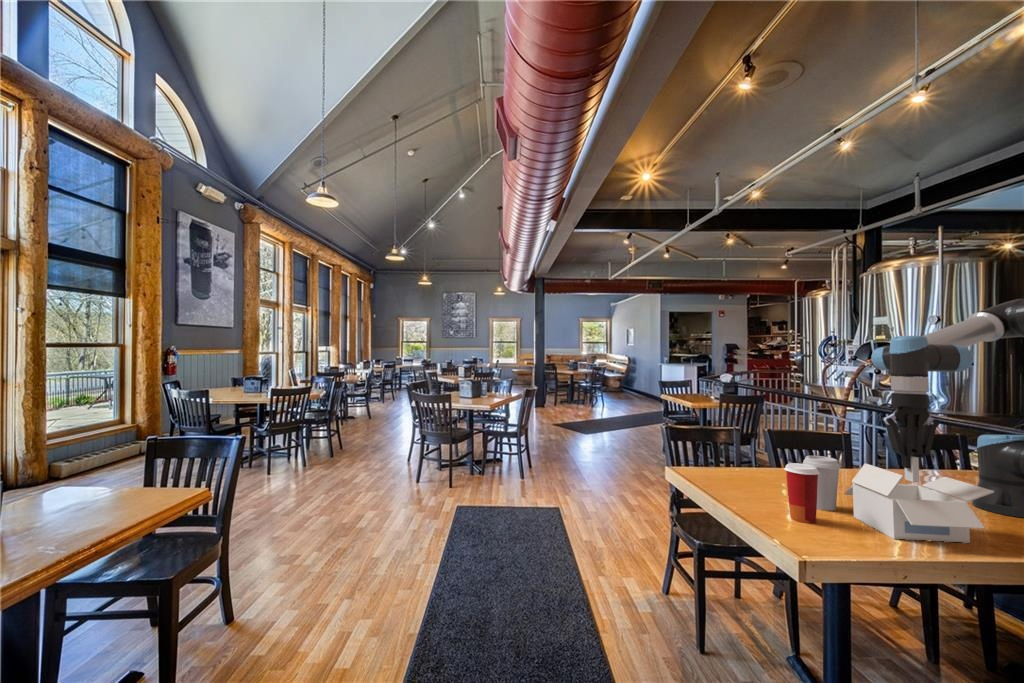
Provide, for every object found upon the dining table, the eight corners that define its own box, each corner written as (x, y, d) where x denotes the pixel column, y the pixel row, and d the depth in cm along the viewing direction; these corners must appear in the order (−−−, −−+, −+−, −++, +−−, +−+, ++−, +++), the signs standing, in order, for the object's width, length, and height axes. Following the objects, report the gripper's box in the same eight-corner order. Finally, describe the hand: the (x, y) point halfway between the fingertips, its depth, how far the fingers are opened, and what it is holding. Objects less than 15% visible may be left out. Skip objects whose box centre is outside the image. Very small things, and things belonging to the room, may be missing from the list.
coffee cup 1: (817, 517, 121) (815, 464, 122) (824, 526, 114) (822, 470, 115) (782, 512, 125) (781, 461, 126) (787, 521, 118) (786, 467, 118)
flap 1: (866, 464, 121) (864, 463, 121) (904, 476, 107) (902, 475, 107) (852, 482, 121) (851, 481, 121) (888, 496, 108) (887, 495, 108)
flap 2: (921, 485, 119) (922, 486, 119) (967, 500, 105) (968, 502, 105) (944, 476, 118) (945, 477, 118) (993, 490, 105) (994, 492, 105)
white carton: (905, 515, 124) (904, 480, 124) (989, 552, 99) (987, 508, 100) (842, 512, 126) (841, 477, 126) (909, 547, 101) (908, 504, 102)
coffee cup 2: (832, 503, 133) (830, 456, 134) (849, 514, 124) (847, 462, 125) (798, 501, 136) (797, 454, 136) (812, 511, 126) (811, 460, 127)
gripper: (924, 392, 117) (926, 478, 116) (873, 391, 119) (875, 475, 117) (948, 394, 110) (951, 486, 108) (893, 392, 111) (896, 483, 110)
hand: (911, 480), depth 113 cm, fingers closed
